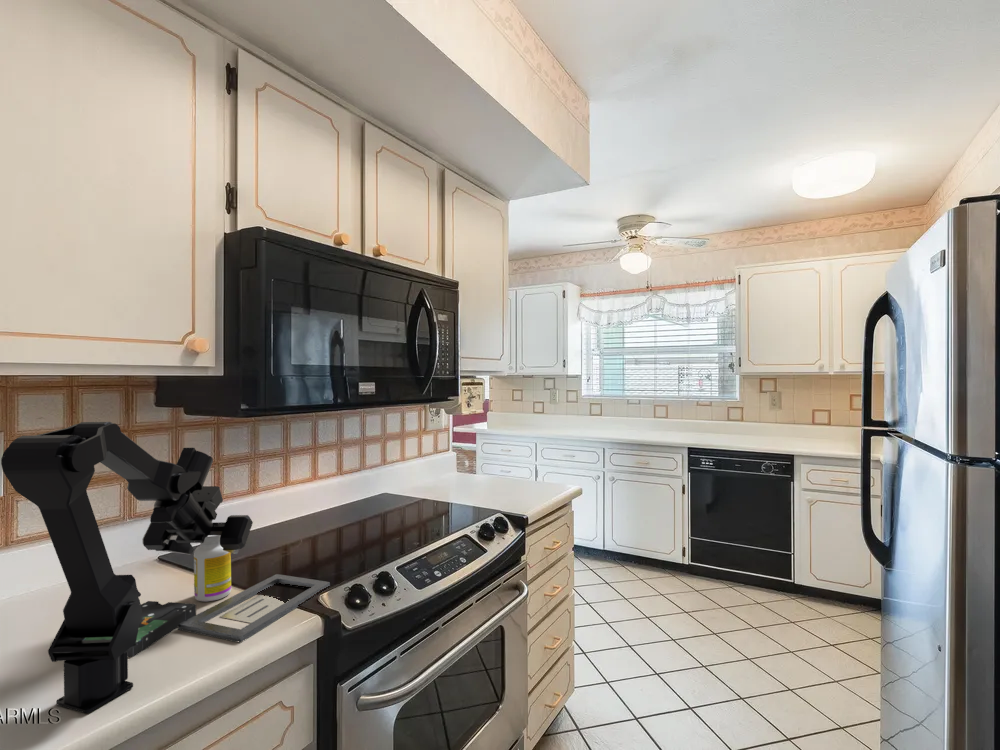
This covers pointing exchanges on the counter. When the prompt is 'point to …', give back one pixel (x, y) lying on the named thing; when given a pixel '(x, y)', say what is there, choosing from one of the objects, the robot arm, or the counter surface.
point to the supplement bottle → (211, 570)
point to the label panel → (251, 609)
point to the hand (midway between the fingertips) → (214, 551)
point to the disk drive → (156, 623)
